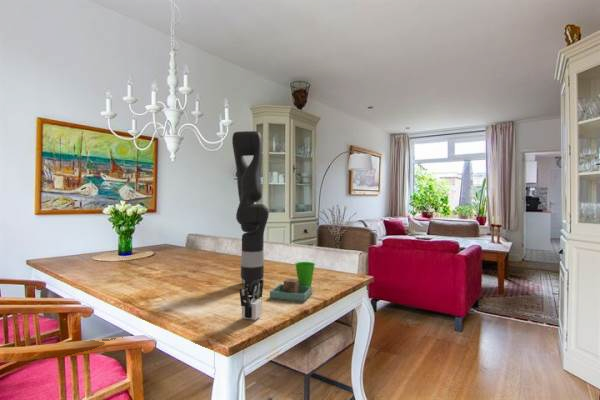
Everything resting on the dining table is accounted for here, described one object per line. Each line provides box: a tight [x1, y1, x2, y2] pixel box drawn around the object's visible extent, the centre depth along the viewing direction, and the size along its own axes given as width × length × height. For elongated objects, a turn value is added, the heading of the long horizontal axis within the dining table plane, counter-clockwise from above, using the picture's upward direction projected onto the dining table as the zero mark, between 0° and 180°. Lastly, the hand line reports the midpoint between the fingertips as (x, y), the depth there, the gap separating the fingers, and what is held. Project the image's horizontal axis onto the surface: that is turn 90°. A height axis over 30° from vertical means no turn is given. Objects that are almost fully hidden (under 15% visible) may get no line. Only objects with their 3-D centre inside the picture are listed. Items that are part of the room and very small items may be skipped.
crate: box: [269, 283, 313, 303], centre depth 132 cm, size 14×11×3 cm
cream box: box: [241, 298, 263, 321], centre depth 107 cm, size 5×5×5 cm
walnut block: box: [283, 278, 299, 294], centre depth 132 cm, size 5×5×6 cm
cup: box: [294, 261, 316, 287], centre depth 143 cm, size 9×9×11 cm
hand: (252, 314), depth 107 cm, fingers closed on cream box, 5 cm apart
